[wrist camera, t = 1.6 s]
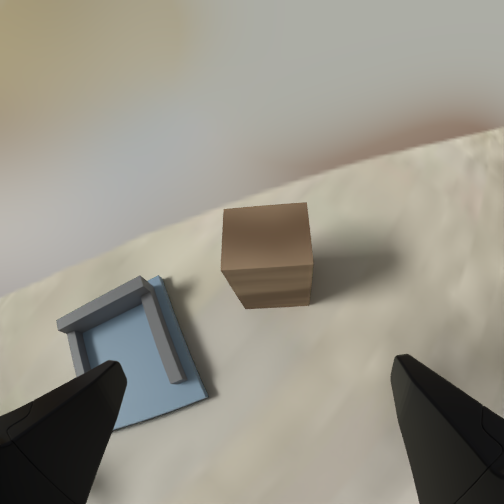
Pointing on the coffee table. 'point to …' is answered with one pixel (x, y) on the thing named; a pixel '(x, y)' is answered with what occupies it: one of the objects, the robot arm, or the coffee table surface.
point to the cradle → (136, 348)
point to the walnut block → (268, 255)
